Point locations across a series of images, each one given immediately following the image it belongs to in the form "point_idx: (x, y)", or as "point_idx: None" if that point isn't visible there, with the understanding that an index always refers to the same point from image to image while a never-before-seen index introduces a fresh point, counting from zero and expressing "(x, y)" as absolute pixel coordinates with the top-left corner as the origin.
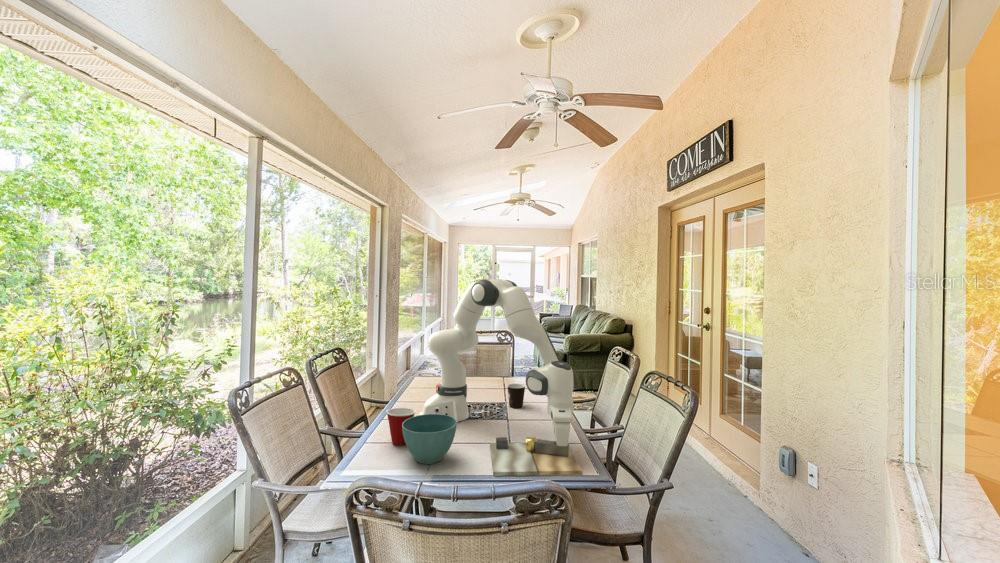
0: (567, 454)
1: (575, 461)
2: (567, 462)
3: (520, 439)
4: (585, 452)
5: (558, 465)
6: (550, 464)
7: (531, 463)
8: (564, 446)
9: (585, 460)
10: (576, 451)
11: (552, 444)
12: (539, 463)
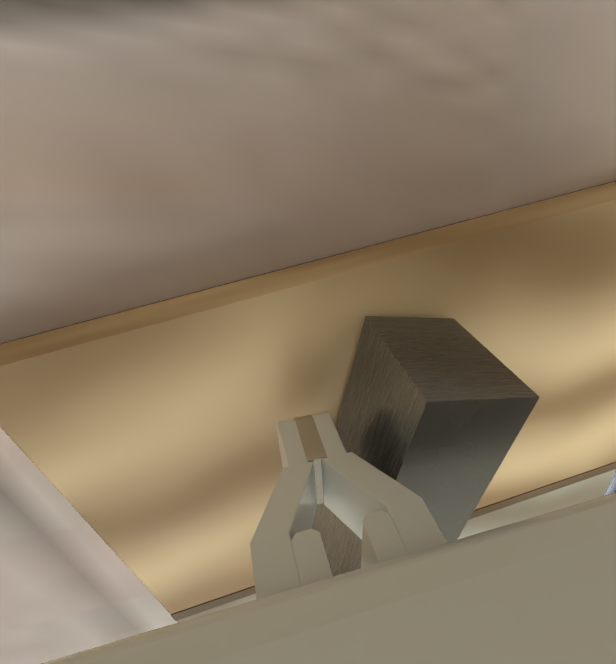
0: (465, 337)
1: (552, 232)
2: (553, 311)
3: (57, 651)
4: (114, 34)
5: (583, 373)
6: (553, 423)
7: (515, 512)
8: (509, 430)
9: (416, 76)
10: (131, 199)
11: (454, 538)
12: (523, 480)
